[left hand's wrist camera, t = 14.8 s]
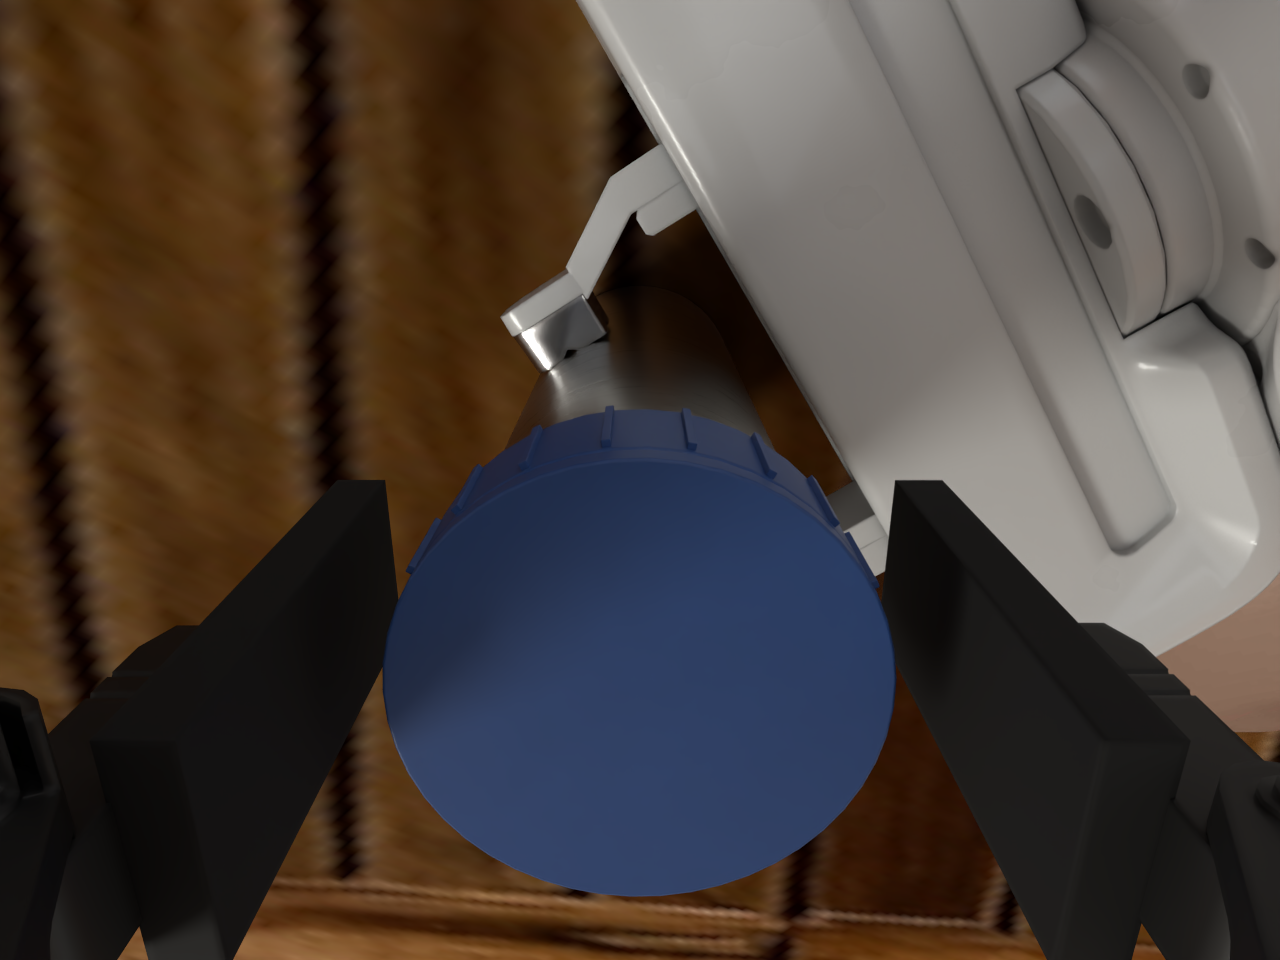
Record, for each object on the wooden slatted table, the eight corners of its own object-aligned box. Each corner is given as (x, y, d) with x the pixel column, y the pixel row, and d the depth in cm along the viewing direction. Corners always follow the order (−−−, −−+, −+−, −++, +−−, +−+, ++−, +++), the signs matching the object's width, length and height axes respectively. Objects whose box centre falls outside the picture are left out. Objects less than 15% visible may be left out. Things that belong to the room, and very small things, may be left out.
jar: (548, 282, 25) (410, 465, 10) (735, 288, 25) (881, 478, 10) (550, 459, 27) (435, 839, 12) (723, 464, 27) (831, 848, 12)
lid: (430, 788, 13) (394, 893, 11) (406, 394, 11) (357, 444, 9) (833, 799, 13) (865, 907, 11) (888, 412, 11) (939, 464, 9)
